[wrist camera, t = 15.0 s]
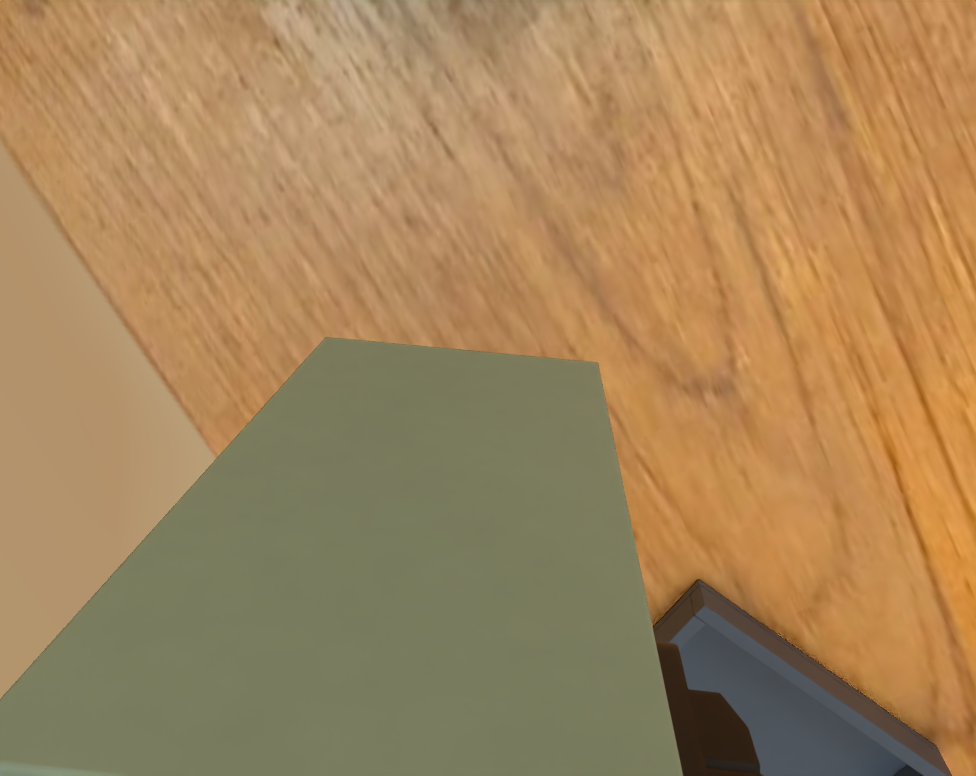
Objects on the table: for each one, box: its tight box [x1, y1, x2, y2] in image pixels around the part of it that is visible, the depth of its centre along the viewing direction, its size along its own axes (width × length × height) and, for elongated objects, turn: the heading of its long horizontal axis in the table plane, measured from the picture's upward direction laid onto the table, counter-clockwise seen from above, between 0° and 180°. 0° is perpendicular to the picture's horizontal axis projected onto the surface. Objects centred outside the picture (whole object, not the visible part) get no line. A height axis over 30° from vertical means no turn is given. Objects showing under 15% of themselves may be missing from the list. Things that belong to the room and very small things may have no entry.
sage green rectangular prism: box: [0, 337, 683, 776], centre depth 11 cm, size 10×5×5 cm
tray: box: [653, 580, 952, 776], centre depth 34 cm, size 12×12×2 cm
